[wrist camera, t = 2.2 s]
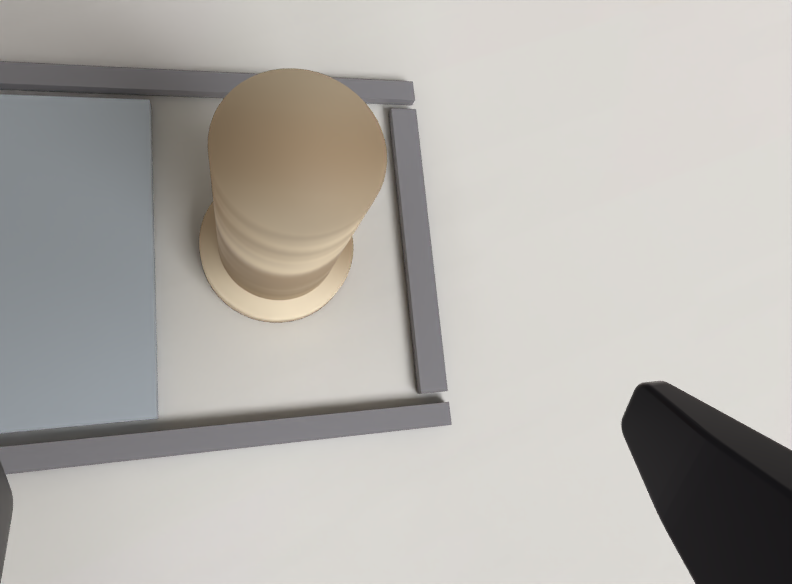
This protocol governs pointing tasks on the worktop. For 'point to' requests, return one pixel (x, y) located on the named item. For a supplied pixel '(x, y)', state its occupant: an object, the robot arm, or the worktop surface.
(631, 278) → the worktop surface
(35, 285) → the game track
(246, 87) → the birch pawn
